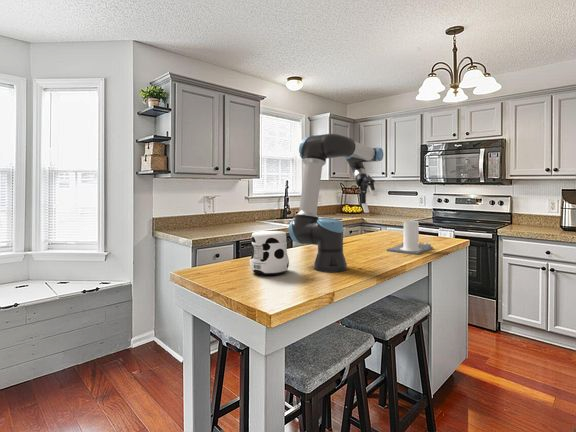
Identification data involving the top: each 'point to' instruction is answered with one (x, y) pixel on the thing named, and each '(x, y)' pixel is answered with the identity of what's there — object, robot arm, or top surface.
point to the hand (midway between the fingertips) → (370, 203)
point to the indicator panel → (421, 249)
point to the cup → (411, 235)
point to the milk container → (269, 252)
